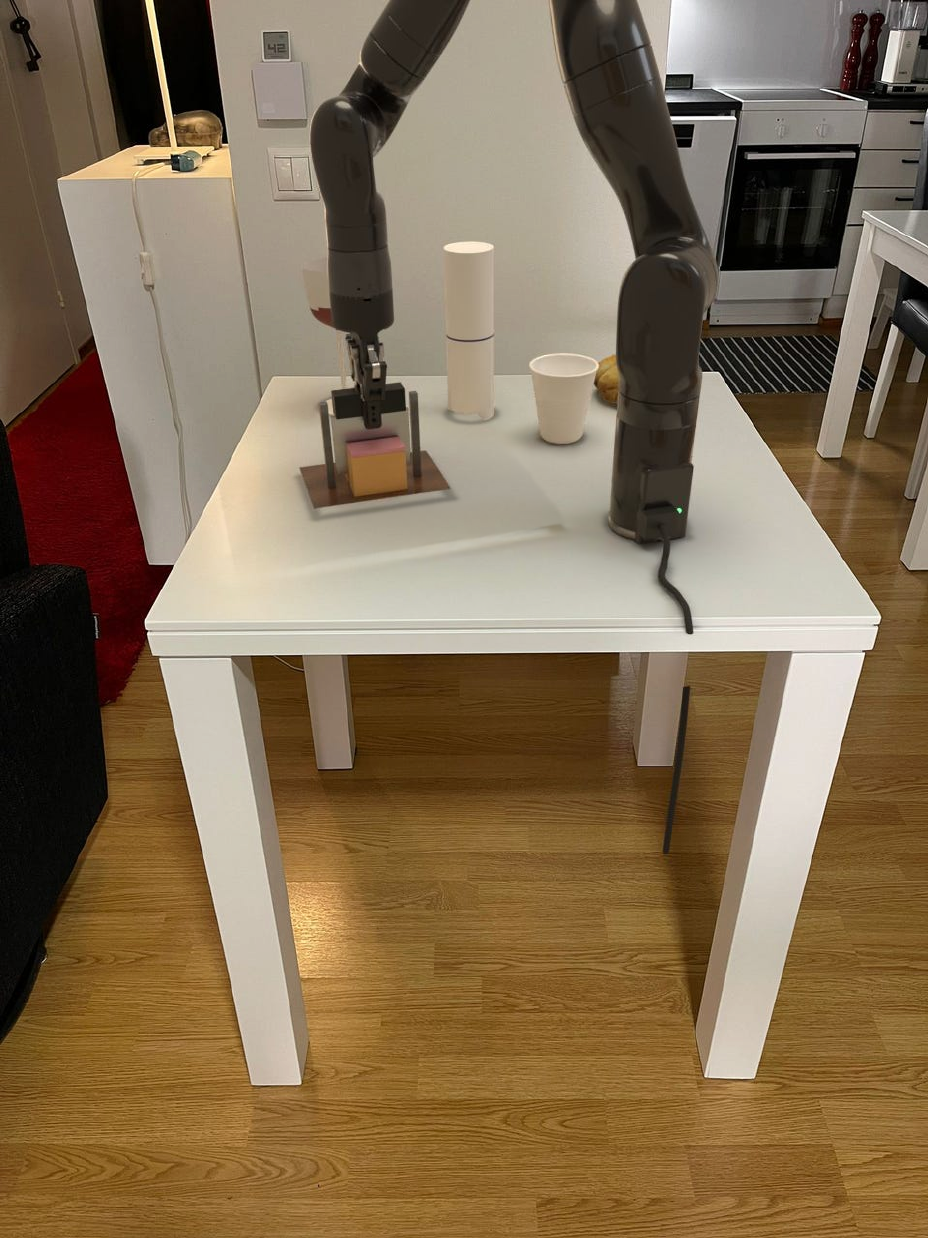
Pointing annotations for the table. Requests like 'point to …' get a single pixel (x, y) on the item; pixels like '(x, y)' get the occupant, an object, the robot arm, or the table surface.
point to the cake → (376, 466)
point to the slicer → (336, 488)
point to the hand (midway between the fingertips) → (370, 422)
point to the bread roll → (608, 379)
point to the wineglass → (322, 306)
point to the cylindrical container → (470, 327)
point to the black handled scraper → (351, 421)
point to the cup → (562, 394)
